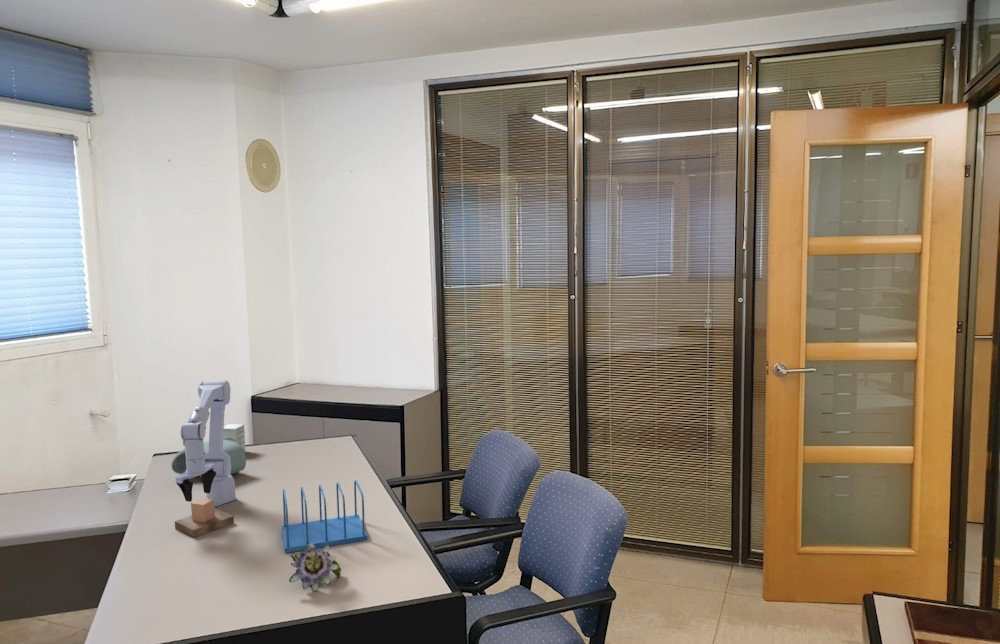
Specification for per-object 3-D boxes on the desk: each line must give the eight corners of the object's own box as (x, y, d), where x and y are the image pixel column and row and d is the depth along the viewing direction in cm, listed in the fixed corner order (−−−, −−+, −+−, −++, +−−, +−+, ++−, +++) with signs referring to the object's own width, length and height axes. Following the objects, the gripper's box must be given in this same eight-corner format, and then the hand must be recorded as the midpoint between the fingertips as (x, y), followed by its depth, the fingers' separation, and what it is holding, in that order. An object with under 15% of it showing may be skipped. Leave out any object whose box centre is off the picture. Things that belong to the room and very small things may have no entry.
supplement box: (221, 456, 305) (220, 428, 303) (231, 450, 312) (229, 423, 311) (237, 456, 304) (235, 428, 302) (246, 451, 311) (244, 424, 309)
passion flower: (316, 611, 190) (287, 584, 183) (304, 584, 200) (276, 557, 193) (353, 579, 193) (326, 551, 186) (340, 554, 203) (314, 527, 196)
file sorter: (285, 554, 211) (282, 505, 209) (281, 531, 227) (279, 486, 225) (367, 540, 220) (365, 494, 218) (358, 519, 236) (357, 476, 234)
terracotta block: (203, 514, 235) (201, 497, 234) (215, 516, 233) (214, 499, 233) (192, 520, 230) (190, 503, 229) (204, 522, 229) (203, 504, 228)
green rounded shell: (247, 475, 281) (245, 444, 279) (205, 490, 265) (203, 457, 263) (213, 465, 293) (211, 436, 291) (171, 479, 277) (168, 448, 275)
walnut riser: (214, 514, 241) (214, 507, 241) (233, 523, 234) (233, 515, 234) (175, 528, 230) (174, 521, 230) (194, 537, 223) (193, 530, 223)
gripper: (203, 449, 239) (206, 487, 241) (168, 462, 226) (171, 502, 228) (219, 452, 236) (221, 490, 238) (183, 465, 223) (186, 506, 225)
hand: (198, 496), depth 233 cm, fingers open, 7 cm apart
